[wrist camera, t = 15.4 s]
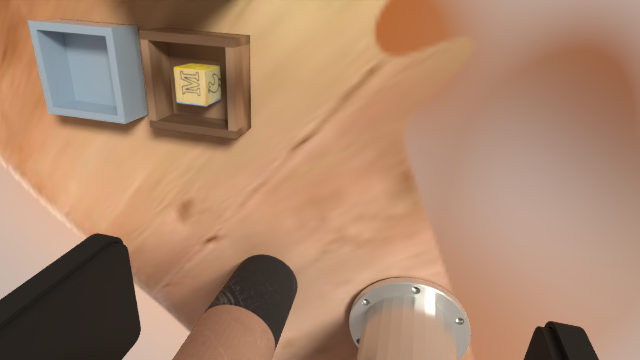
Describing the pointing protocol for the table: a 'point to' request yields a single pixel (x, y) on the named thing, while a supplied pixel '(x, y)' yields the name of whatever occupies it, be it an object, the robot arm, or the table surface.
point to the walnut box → (200, 48)
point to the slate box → (90, 69)
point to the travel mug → (245, 314)
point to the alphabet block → (197, 84)
